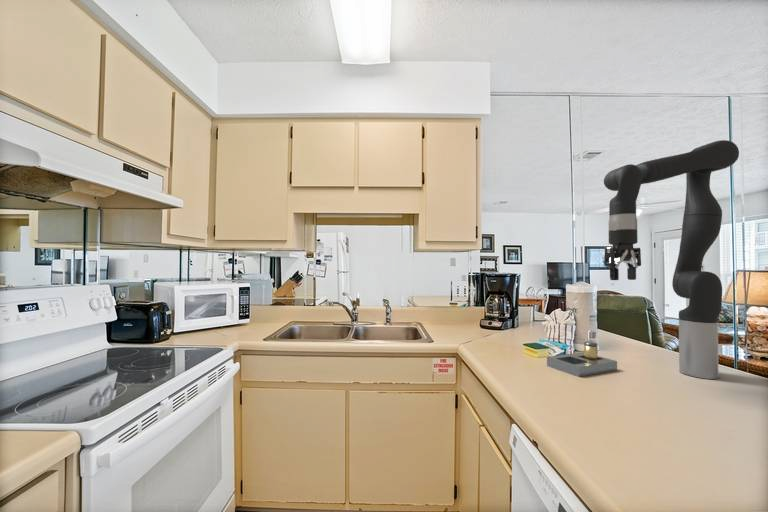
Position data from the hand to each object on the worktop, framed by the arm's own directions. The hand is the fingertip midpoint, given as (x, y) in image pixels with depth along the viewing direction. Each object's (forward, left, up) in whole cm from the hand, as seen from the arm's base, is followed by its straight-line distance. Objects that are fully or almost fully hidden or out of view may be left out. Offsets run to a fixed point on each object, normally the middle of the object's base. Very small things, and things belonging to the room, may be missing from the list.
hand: (623, 279), depth 106 cm
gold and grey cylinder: (+1, -10, -30) cm, 32 cm away
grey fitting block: (+6, -10, -30) cm, 32 cm away
